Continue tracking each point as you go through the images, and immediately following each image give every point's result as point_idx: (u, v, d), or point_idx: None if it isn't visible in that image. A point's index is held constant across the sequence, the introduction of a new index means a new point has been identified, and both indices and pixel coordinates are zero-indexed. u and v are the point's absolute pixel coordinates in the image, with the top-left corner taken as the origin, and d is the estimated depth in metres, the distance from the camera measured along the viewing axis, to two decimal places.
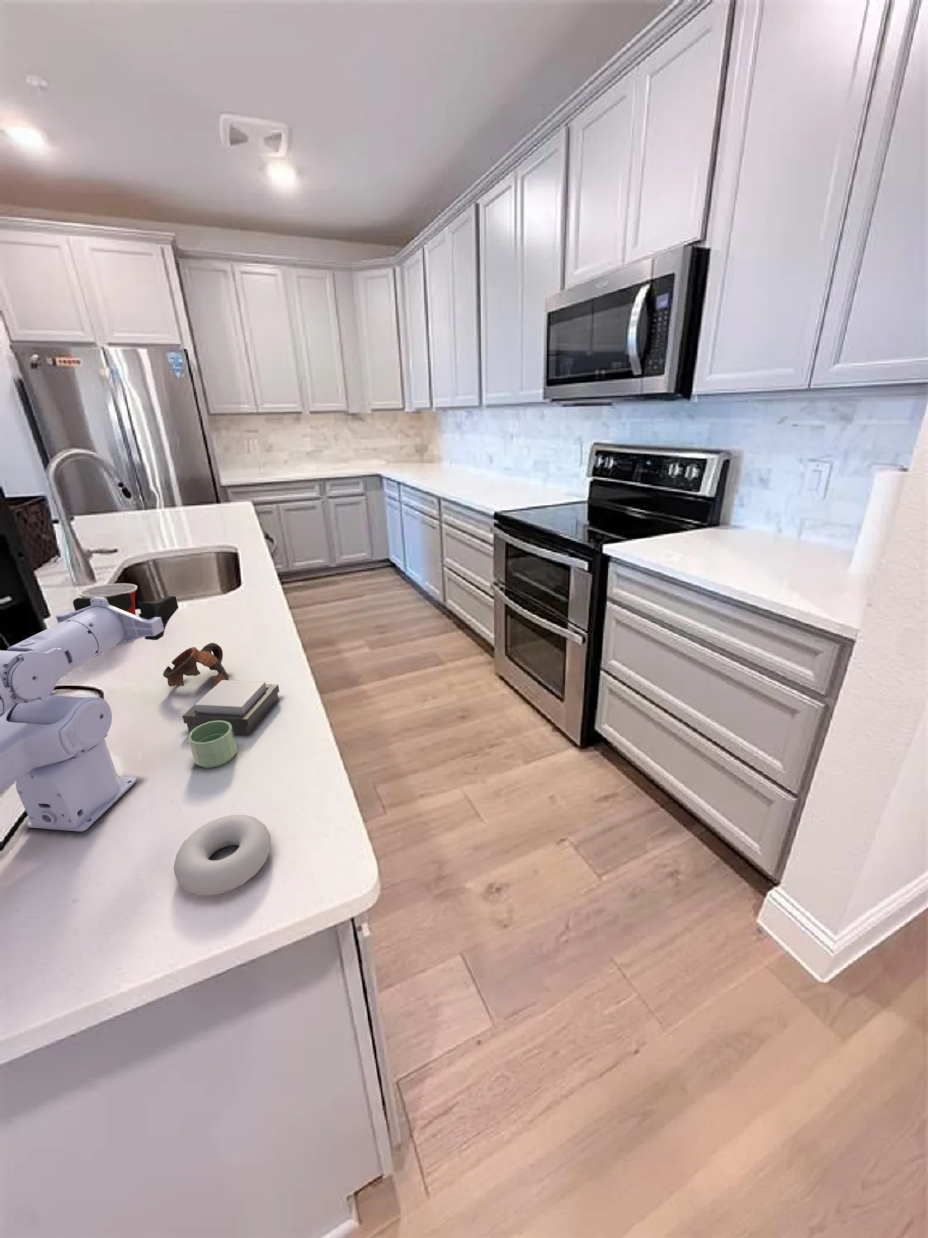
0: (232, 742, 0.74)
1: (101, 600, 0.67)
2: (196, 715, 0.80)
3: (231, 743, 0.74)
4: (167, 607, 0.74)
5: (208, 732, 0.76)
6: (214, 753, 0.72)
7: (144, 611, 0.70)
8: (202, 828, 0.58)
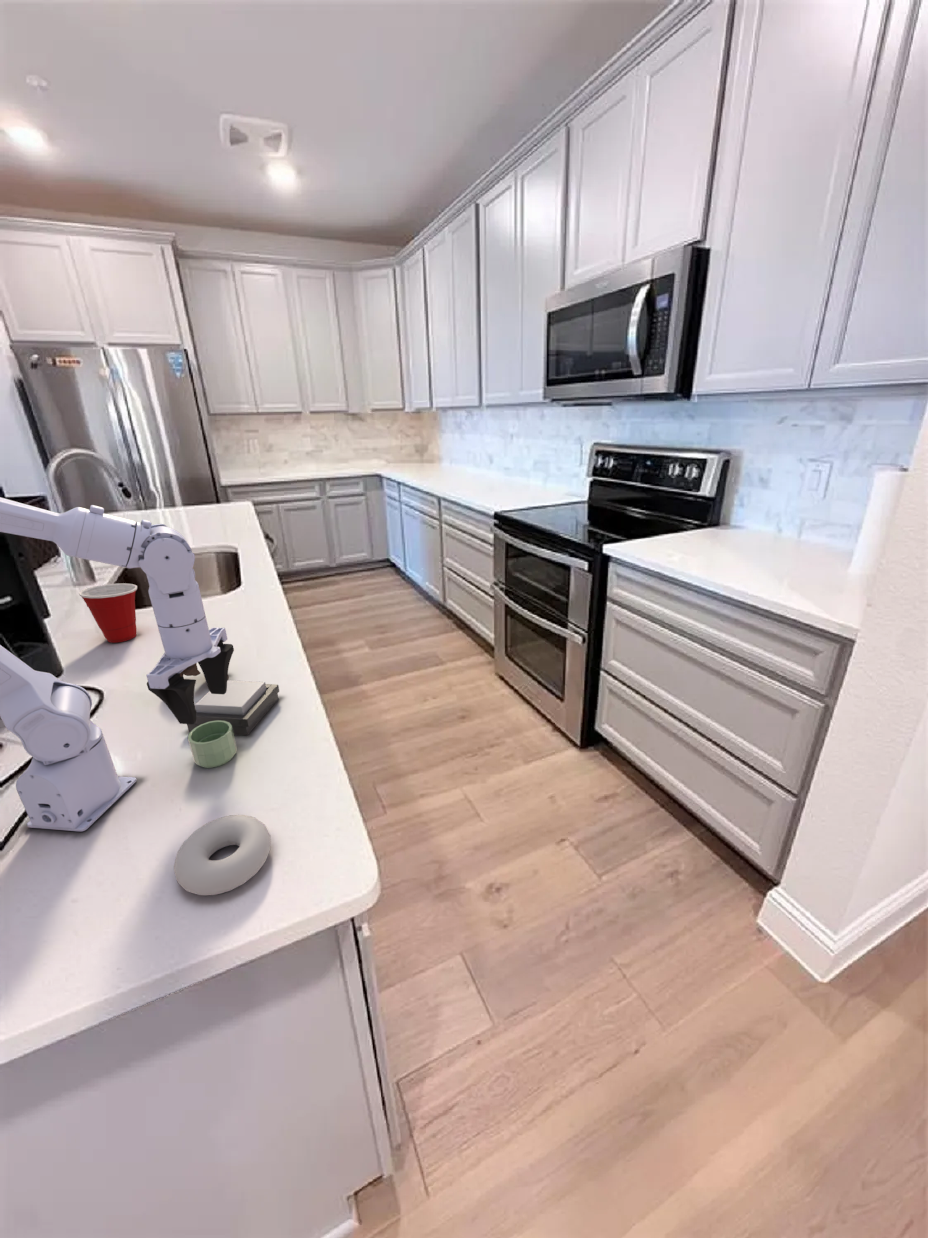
0: (232, 742, 0.74)
1: (212, 652, 0.68)
2: (196, 715, 0.80)
3: (231, 743, 0.74)
4: (182, 710, 0.67)
5: (208, 732, 0.76)
6: (214, 753, 0.72)
7: (182, 681, 0.65)
8: (202, 828, 0.58)
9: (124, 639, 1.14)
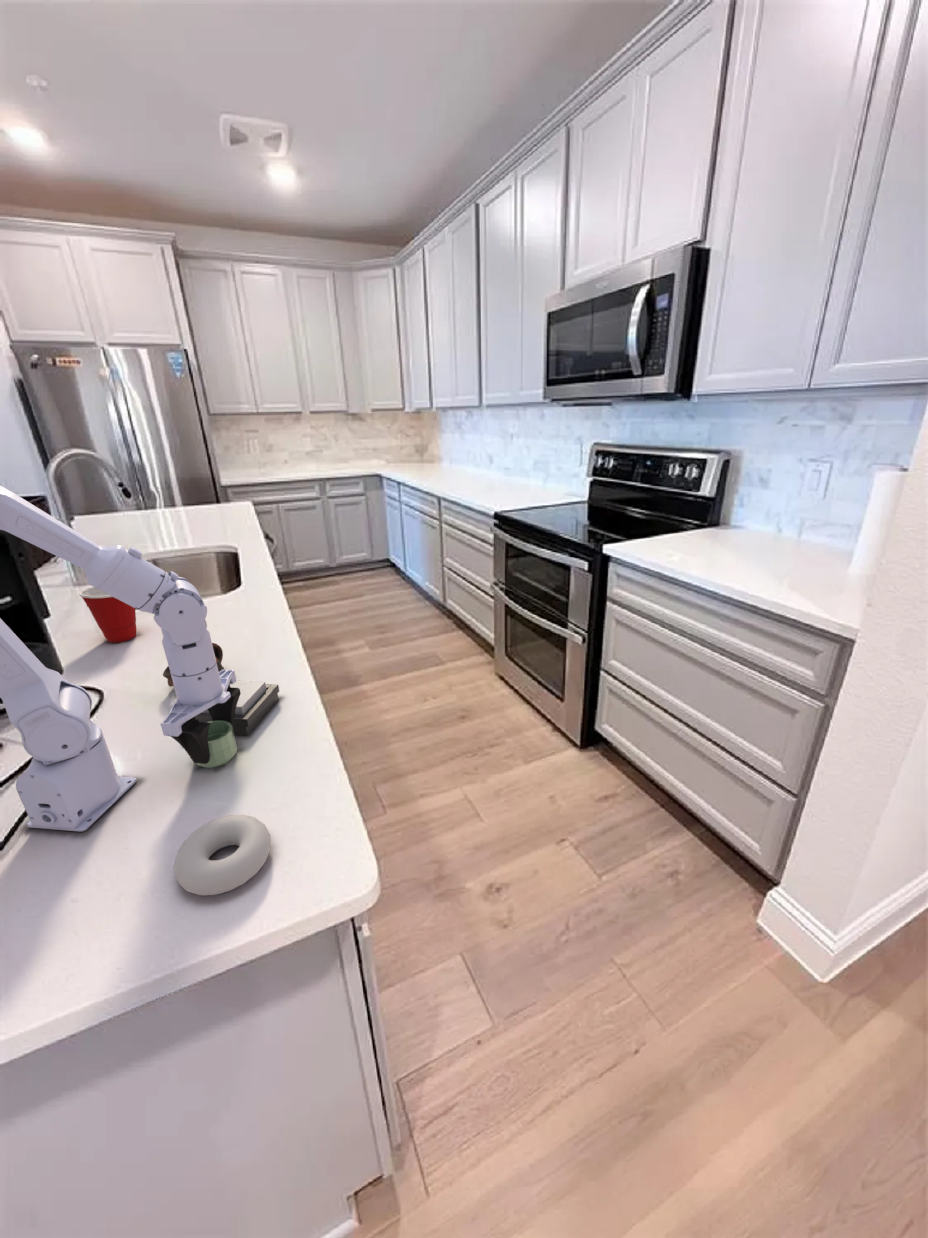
0: (232, 742, 0.74)
1: (223, 698, 0.70)
2: (196, 715, 0.80)
3: (231, 743, 0.74)
4: (196, 750, 0.71)
5: (208, 732, 0.76)
6: (214, 753, 0.72)
7: (197, 724, 0.68)
8: (202, 828, 0.58)
9: (124, 639, 1.14)
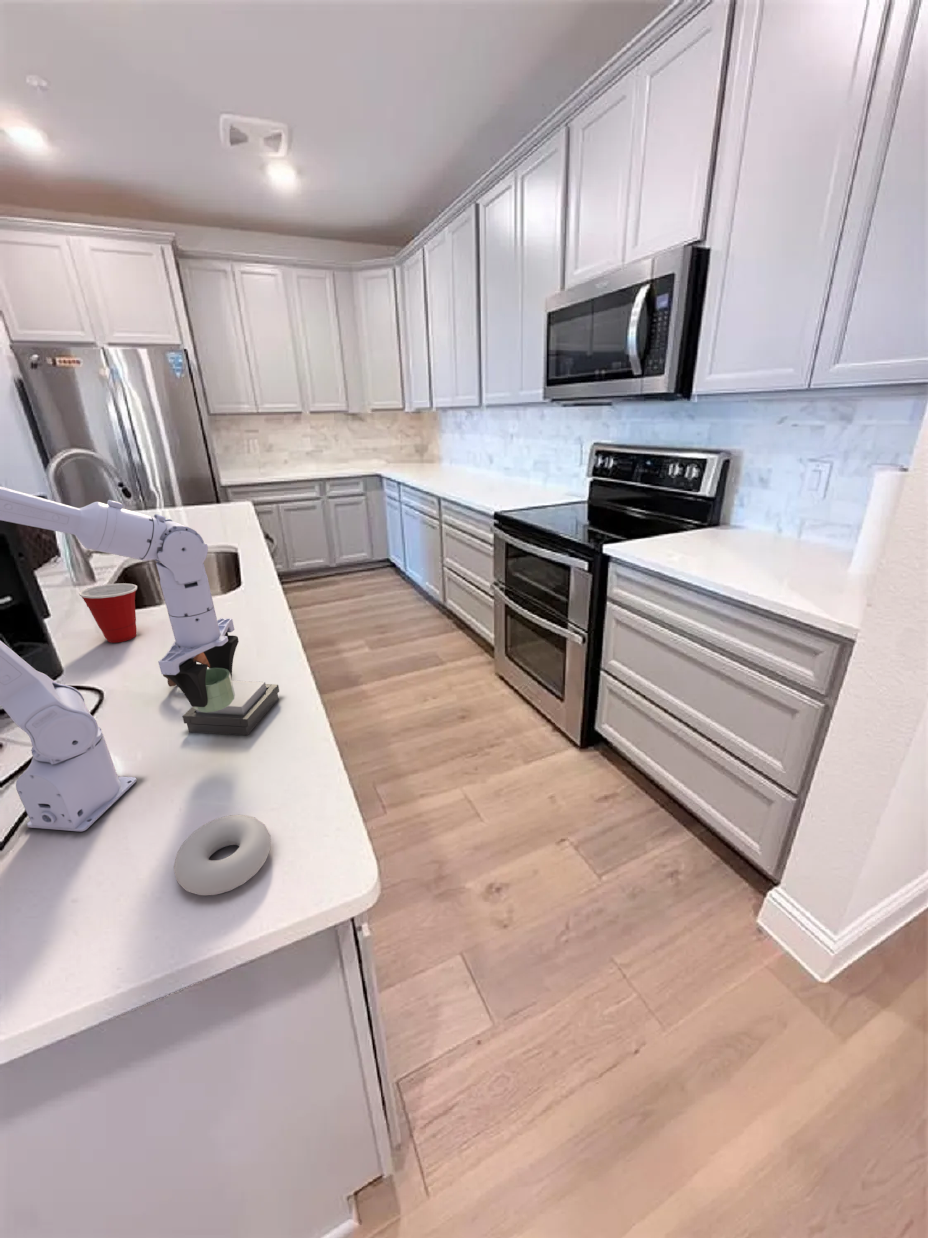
0: (230, 688, 0.75)
1: (220, 641, 0.71)
2: (196, 715, 0.80)
3: (229, 689, 0.75)
4: (194, 693, 0.71)
5: (206, 679, 0.77)
6: (212, 697, 0.73)
7: (195, 665, 0.69)
8: (202, 828, 0.58)
9: (124, 639, 1.14)
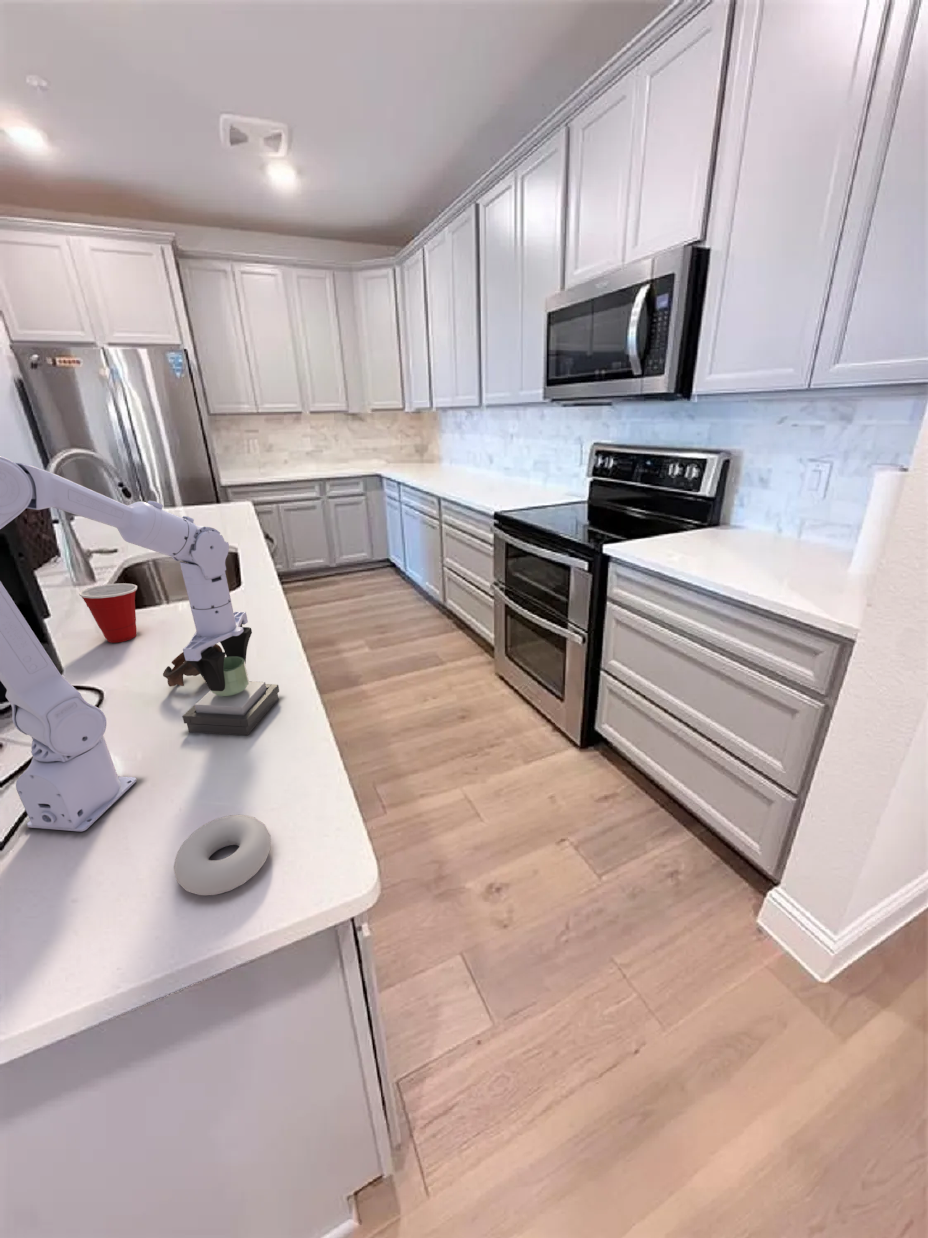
0: (245, 674, 0.83)
1: (237, 631, 0.79)
2: (196, 715, 0.80)
3: (244, 675, 0.83)
4: (213, 678, 0.79)
5: (223, 666, 0.85)
6: (229, 682, 0.81)
7: (214, 653, 0.77)
8: (202, 828, 0.58)
9: (124, 639, 1.14)
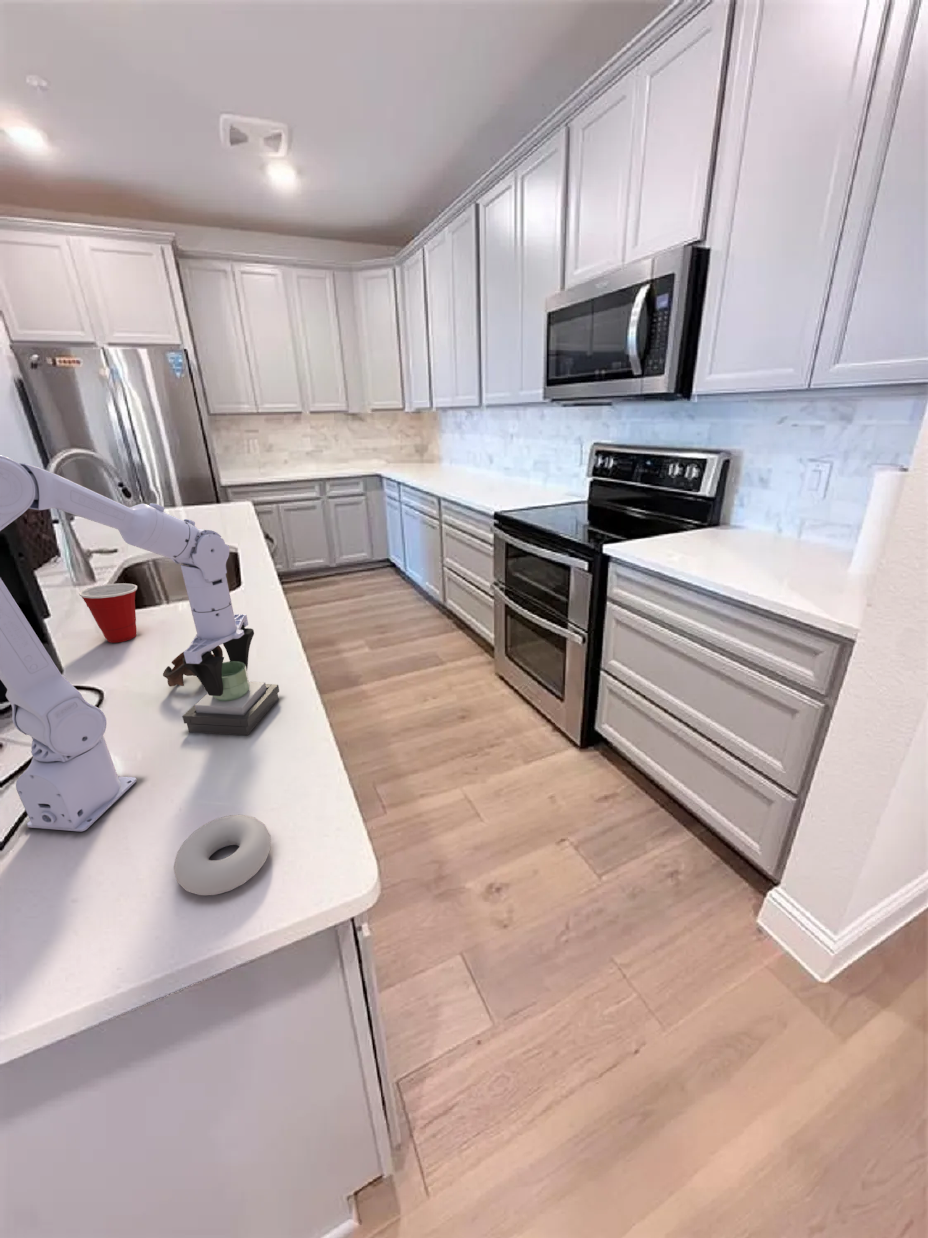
0: (246, 679, 0.83)
1: (237, 634, 0.79)
2: (196, 715, 0.80)
3: (245, 680, 0.83)
4: (211, 683, 0.79)
5: (224, 671, 0.85)
6: (230, 687, 0.81)
7: (212, 658, 0.76)
8: (202, 828, 0.58)
9: (124, 639, 1.14)
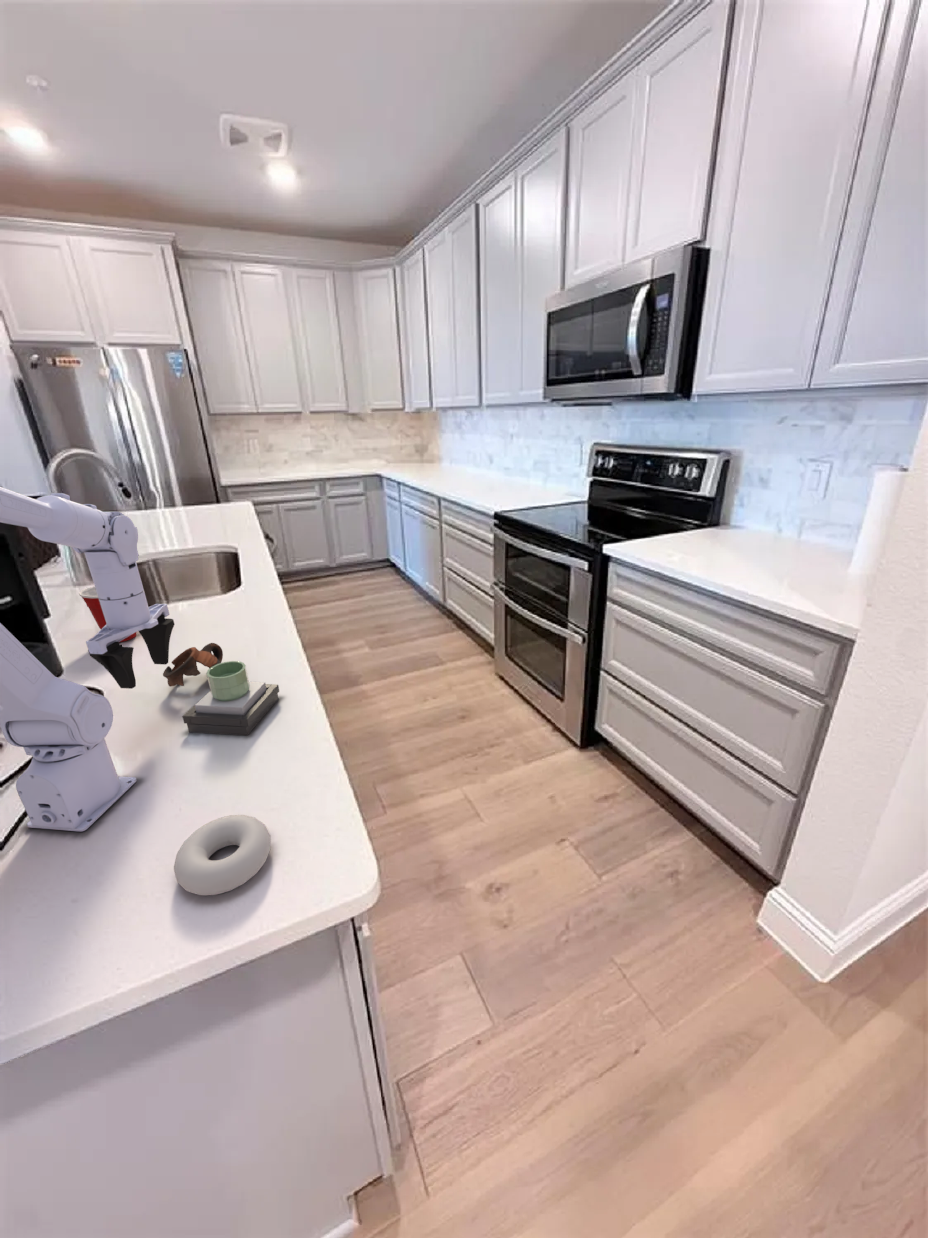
0: (246, 679, 0.83)
1: (149, 624, 0.75)
2: (196, 715, 0.80)
3: (245, 680, 0.83)
4: (122, 675, 0.75)
5: (224, 671, 0.85)
6: (230, 687, 0.81)
7: (120, 648, 0.73)
8: (202, 828, 0.58)
9: (124, 639, 1.14)
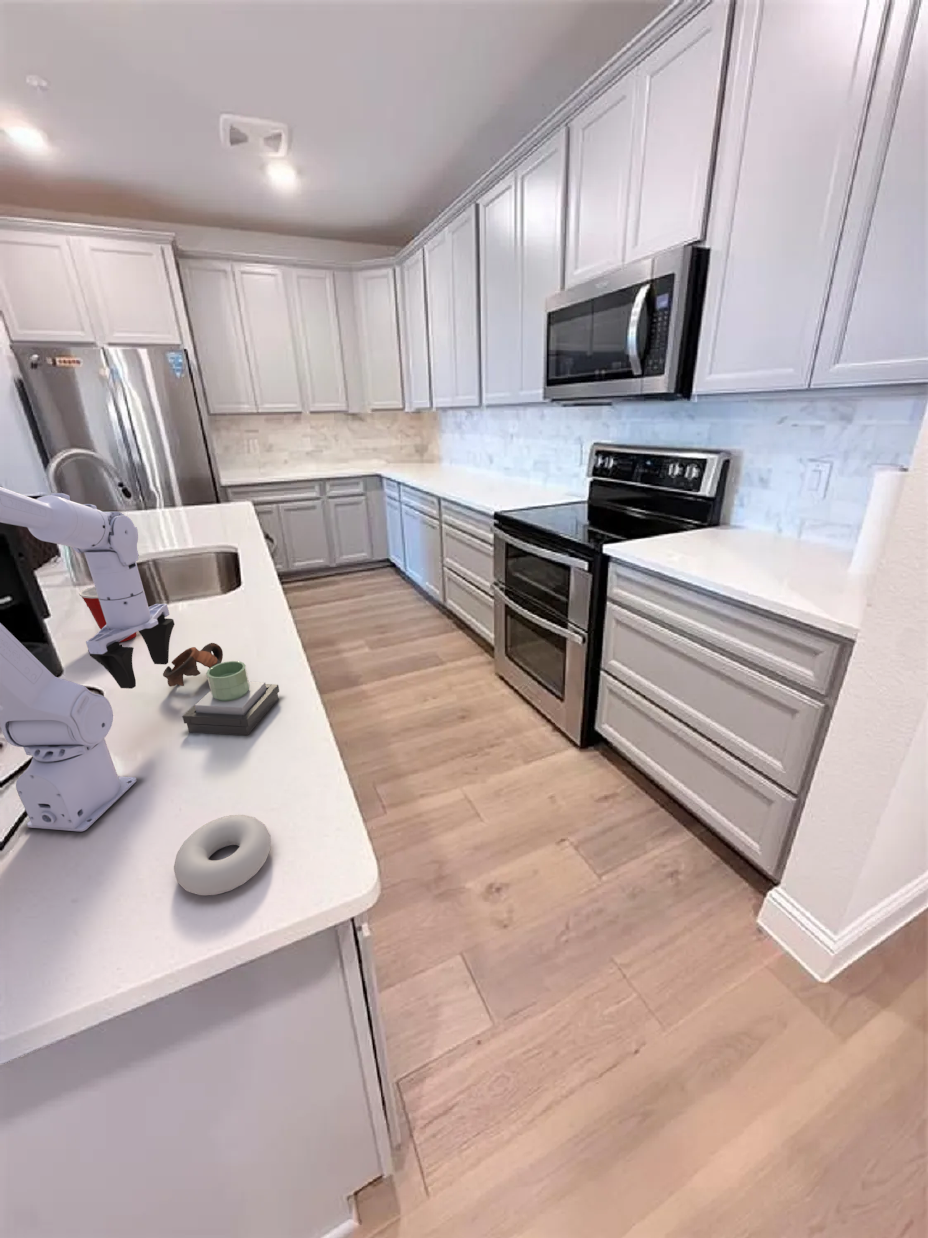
0: (246, 679, 0.83)
1: (149, 624, 0.75)
2: (196, 715, 0.80)
3: (245, 680, 0.83)
4: (122, 675, 0.75)
5: (224, 671, 0.85)
6: (230, 687, 0.81)
7: (120, 648, 0.73)
8: (202, 828, 0.58)
9: (124, 639, 1.14)
